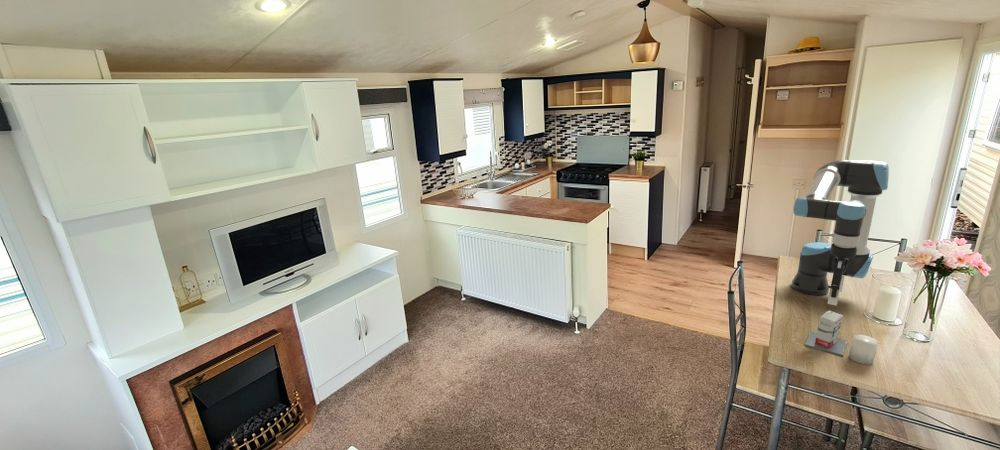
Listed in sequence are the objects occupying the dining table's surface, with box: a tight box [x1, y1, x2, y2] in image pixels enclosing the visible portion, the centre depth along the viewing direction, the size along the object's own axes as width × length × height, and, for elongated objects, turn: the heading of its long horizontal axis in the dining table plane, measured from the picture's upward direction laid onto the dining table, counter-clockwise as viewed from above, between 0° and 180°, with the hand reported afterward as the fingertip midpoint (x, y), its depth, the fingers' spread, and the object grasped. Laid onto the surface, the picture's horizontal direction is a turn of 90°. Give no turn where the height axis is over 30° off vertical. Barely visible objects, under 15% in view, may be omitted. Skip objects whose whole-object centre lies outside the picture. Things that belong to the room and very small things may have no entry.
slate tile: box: [804, 331, 848, 357], centre depth 171 cm, size 12×12×1 cm
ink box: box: [815, 309, 844, 348], centre depth 170 cm, size 8×5×12 cm, turn 124°
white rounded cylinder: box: [848, 334, 879, 366], centre depth 160 cm, size 7×7×8 cm
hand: (834, 297), depth 166 cm, fingers open, 13 cm apart
